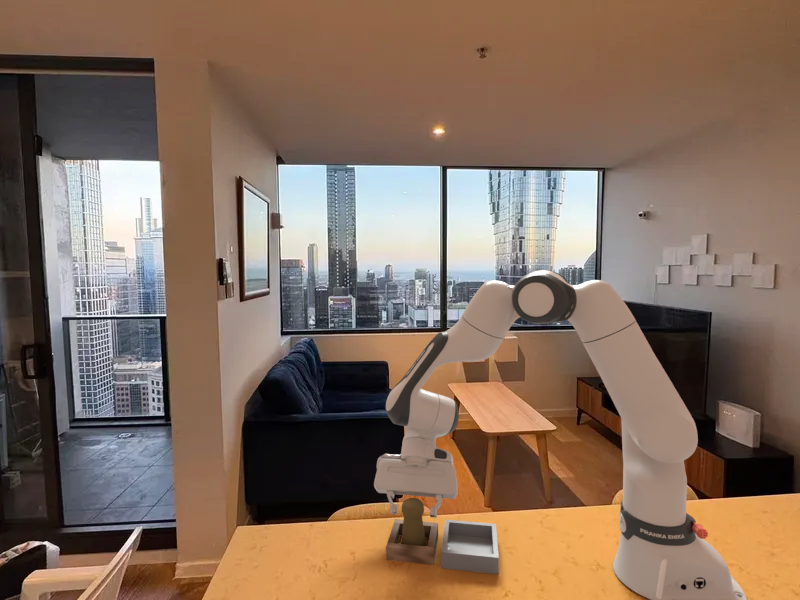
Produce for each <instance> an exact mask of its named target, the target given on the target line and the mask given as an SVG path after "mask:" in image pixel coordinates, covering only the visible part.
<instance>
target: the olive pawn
mask: <svg viewBox="0 0 800 600" xmlns="http://www.w3.org/2000/svg"><path fill="white" fill-rule="evenodd" d="M424 512H425V505H424V503H423V502H422V500H421V499H419V498H416V497H408V498H407V499H405V500H404V501H403V502H402V504H401V513H402V515H403V520H404V521H403V530H402V535H401V539H400V544H406V545H416V546H427V542H426V538H425V534H424V527H423V522H424V520H423V515H424Z"/></svg>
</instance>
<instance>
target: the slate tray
mask: <svg viewBox="0 0 800 600" xmlns="http://www.w3.org/2000/svg"><path fill="white" fill-rule="evenodd" d="M498 544H499V543H498V535H497V524H496V523H489V522H478V521H468V520H456V519H445V521H444V527H443V536H442V543H441V552H440V553H441V554H440V555H441V556H440V557H441V558H440V559H441V563H440V564H441V569H444V570H445V569H447V570H456V571H457V570H458V571H466V572H476V573H482V574H483V573H484V574H493V575H499V574H500V573H499V572H500V571H499V570H500V566H499V565H500V561H499V560H500V558H499V545H498Z"/></svg>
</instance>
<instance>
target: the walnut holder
mask: <svg viewBox="0 0 800 600" xmlns="http://www.w3.org/2000/svg"><path fill="white" fill-rule="evenodd" d="M403 521H404V519H398V518H397V519H396V518H394V522H393V524H392V527H391V531H390V533H389V537H388V540H387V543H386V545H385V556H386V557H385V559H386V560H387V561H393V562H394V561H395V562H402V563H403V562H404V563H412V564H422V565H430V566H431V565H432V566H434V565H435V560H436V553H437V545H438V539H439V522H434V521H433V522H432V521H423V527H424V534H425V539H426V538H427V539H428V543H427V545H426V546H416V545H406V544H401V543H399V540H400V537H401V536H402V530H403Z"/></svg>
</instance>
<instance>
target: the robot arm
mask: <svg viewBox="0 0 800 600" xmlns="http://www.w3.org/2000/svg"><path fill="white" fill-rule="evenodd" d="M519 318H521V319H523V320H524V321H526V322H528V323H531V324H536V325H539V324H540V325H541V324H544V325H545V324H550V323H551V324H552V323H558V322H565V321H568V322H569V323H570V324H571V325H572V327H573V328H574V330H575V331H576V334H577V335H578V337H579V339H580V340H581V342H582V345H583V347H584V348H585V351H586V352H587V354H588V356H589V358H590V360H591V362H592V364H593V365H594V367H595V369H596V371H597V373H598V375H599V377H600V379H601V381H602V383H603V384H604V387H605V388H606V391H607V393H608V395H609V396H610V398H611V401H612V402H613V404H614V407H615V409H616V410H617V412H618V414H619V417H620V419H621V423H620V424H621V444H622V446H621V448H622V462H623V464H622V467H623V470H622V471H623V473H622V474H623V477H622V501H620V506H619V508H620V511H619V519H618V520H619V529H620V538H619V544H618V548H617V551H616V555H615V557H614V560H613V562H612V568H613V572H614V573H615V575H616V577H617V578H618V580H619V581H620V582H622V584H624V585H625V586H626V587H627V588H629V589H631V590H632V592H635V593H636V594H638V595H640V596H642V597H644V598H646V599H648V600H748V598H747V596H746V593H745V591H744V590H743V589H742V587H741V586H740V584H739V583H738V582H737V581H736V578H735V579H734V577H733V576H732V575H731V572H730V569H729V566H728V565H727V562H726V561H725V559H724V558H723V556H722V555H721V554H720V552H718V551H717V550H716V548H715V547H714V546H712V544H710V543H709V542H708V541H707V540H705V539H707V537H709V533H708V531H707V529H705V528H704V525H702V524H700V523H697V522H696V519H695V518H694V517H693V515H690V514H689V513H688V512H687V498H688V497H687V494H688V493H687V492H688V478H687V474H686V467H685V466H686V465H685V460H687V459H689V458H690V457H691V456H692V455H693V454H694V453H695V452H696V449H697V447H698V443H699V442H698V441H699V438H698V429H697V425H696V422H695V420H694V418H693V417H692V414H691V413H690V411H689V409H688V407H687V406H686V404H685V403H684V401H683V399H682V398H681V396H680V393H679V392H678V391H677V389H676V388H675V386H674V384H673V382H672V381H671V379H670V377H669V376H668V374H667V372H666V371H665V369H664V368H663V365H662V364H661V362H660V361H659V359H658V357H657V356H656V354H655V353H654V351H653V349H652V347H651V345H650V344H649V342H648V340H647V338H646V335H644V333H643V331H642V330H641V327H640V326H639V323H638V322H637V320H636V318H635V316H634V315H633V313H632V311H631V310H630V308H629V307H628V305H627V304H626V303H625V301H624V300H623V298H622V297H621V296H620V294H618V292H617V291H616V290H615V288H614V287H613V286H612V285H611V284H610V283H609V282H607V281H605V280H601V279H591V280H587V281H584V282H582V283H579V284H571V283H568V280H567V279H566V278H565V277H564V276H563V275H561V274H560V273H559V272H556V271H554V270H553V271H552V270H547V269H539V270H534V271H532V272H529V273H528V274H526V275H523V276H522V277H521V278H520V279H519V280H518V281H517V282H516V283H515V284H509V283H507V282H504V281H502V280H494V279H492V280H487V281H485V282H484V283H483V284H481V286H480V287H479V288H478V289H477V291H476V292H475V294H474V295H473V297H472V298H471V299H470V301H469V302H468V304H467V306H466V307H465V309H464V311H463V312H462V314H461V316H460V318H459V319H458V321H457V322H456V323H454V325H453V326H451V327H450V328H449V329H447V330H445V331H441V332H438V333H437V334H436V335H435V336H433V338H432V339H431V340H430V341H429V342H428V344H427V345H426V347H425V348H424V349H423V350H422V352H421V353H420V354H419V355H418V357H417V358H416V360H415V361H414V362H413V364H412V365H411V366H410V368H409V369H407V371H406V373H405V374H404V376H403V377H402V378H401V379H400V380H399V382H397V384H395V385H394V386H393V388H392V389H391V390H390V392H389V394H388V396H387V399H386V400H385V405H384V408H385V413H386V414H387V416H388V418H389V419H390V421H391V422H392V424H394V425H398V426H403V427H404V436H403V439H402V442H401V443H402V445H401V452H400V454H396V453H395V454H390V453H384V454H382V455H380V456H379V457H378V458H377V459H376V460H377V461H376V473H375V478H374V481H373V486H374V489H375V490H376V492H377V493H378V494H386V497H387V499H388V503H389V504H390V507H389V513H390V514H391V515H397V514H398V504H395V503H394V502H393V500H394V499H395V495H401V496H411V497H412V496H413V497H415V496H416V497H424V498H425V497H426V498H435V501H436V503H435V505H434V506H431V507H430V509H429V510H430V512H429V516H430V518H434V519H436V518H438V510H439V509H440V507H441V506H442V504H443V499H450V500H454V499H455V498H456V497H458V481H457V472H456V468H455V466H454V458H453V455H452V453H451V452H450V451H448V450H445V449H443V448H439V447H437V442H436V441H437V439H438V438H442V437H446V436H447V435H449V434H451V433H453V432H454V431H455V430H456V429H457V428H458V425H459V419H460V411H459V407H458V404H457V402H456V400H455V399H453V398H451V397H448V396H446V395H442V394H439V393H437V392H436V393H435V392H432V391H429V390H425V389H424V388H422V387H423V386H425V384H426V382H427V381H428V379H429V378H430V377H431V376H432V374H433V373H434V372H435V371H436V370H437V369H438V368H439V367H441V366H443V365H445V364H446V365H447V364H451V363H452V364H453V363H475V362H481V361H485V360H487V359H489V358H491V357H492V356H493V355H494V354H496V352H498V350H499V348H500V347H501V345H502V344H503V341H504V339H505V338H506V336H507V335H508V332H509V331H510V329H511V327H512V326H513V324H514V323H515V322H516V320H518V319H519Z"/></svg>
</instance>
